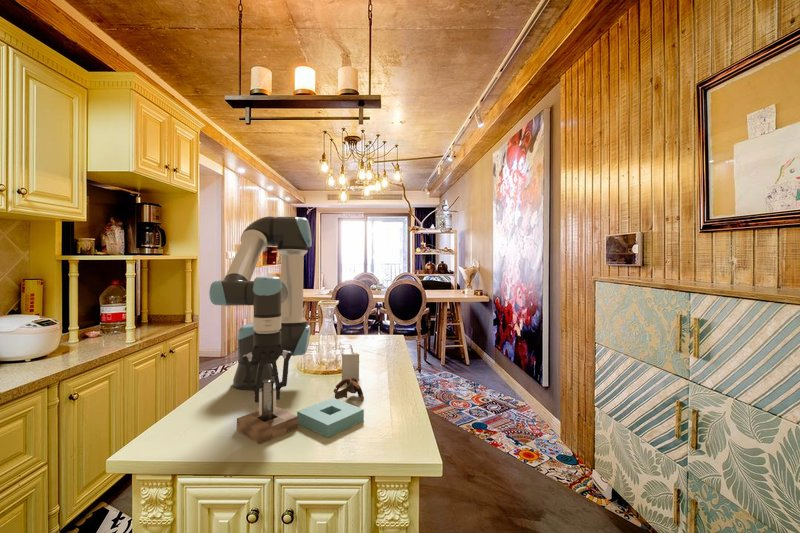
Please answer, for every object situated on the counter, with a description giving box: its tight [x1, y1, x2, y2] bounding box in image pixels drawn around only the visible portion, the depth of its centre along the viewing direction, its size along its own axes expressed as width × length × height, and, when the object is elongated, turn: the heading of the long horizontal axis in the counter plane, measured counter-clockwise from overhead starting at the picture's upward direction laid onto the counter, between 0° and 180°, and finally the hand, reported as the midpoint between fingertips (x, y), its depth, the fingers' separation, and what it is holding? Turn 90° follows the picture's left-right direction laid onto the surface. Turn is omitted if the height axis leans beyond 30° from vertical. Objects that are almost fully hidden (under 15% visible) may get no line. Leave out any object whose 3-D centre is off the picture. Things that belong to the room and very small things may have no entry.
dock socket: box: [296, 397, 365, 438], centre depth 115 cm, size 14×14×4 cm
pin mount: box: [236, 406, 299, 444], centre depth 110 cm, size 12×12×4 cm
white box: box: [341, 353, 360, 381], centre depth 154 cm, size 4×7×10 cm, turn 95°
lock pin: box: [261, 379, 274, 422], centre depth 109 cm, size 3×3×14 cm
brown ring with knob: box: [333, 378, 365, 403], centre depth 133 cm, size 12×10×8 cm
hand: (267, 411), depth 110 cm, fingers closed on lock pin, 3 cm apart
